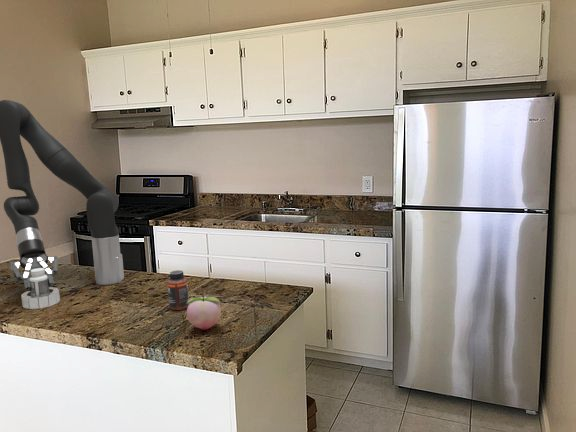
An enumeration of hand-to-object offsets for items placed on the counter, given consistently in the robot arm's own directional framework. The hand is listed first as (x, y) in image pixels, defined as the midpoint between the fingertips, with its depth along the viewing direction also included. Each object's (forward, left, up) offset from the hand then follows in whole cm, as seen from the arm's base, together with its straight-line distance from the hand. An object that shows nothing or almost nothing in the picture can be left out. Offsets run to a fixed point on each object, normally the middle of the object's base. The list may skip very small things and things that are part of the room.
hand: (40, 287), depth 147 cm
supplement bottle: (-44, +11, -6) cm, 46 cm away
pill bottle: (+1, -2, -4) cm, 5 cm away
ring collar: (+1, -1, -5) cm, 6 cm away
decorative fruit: (-53, +29, -6) cm, 61 cm away
